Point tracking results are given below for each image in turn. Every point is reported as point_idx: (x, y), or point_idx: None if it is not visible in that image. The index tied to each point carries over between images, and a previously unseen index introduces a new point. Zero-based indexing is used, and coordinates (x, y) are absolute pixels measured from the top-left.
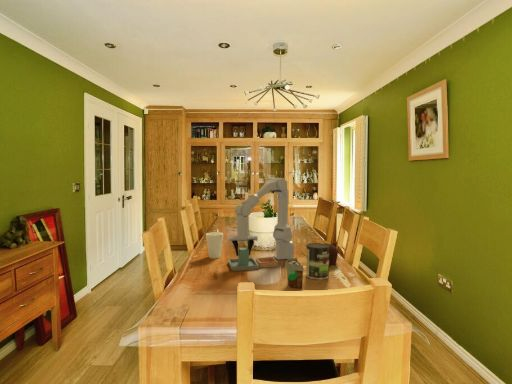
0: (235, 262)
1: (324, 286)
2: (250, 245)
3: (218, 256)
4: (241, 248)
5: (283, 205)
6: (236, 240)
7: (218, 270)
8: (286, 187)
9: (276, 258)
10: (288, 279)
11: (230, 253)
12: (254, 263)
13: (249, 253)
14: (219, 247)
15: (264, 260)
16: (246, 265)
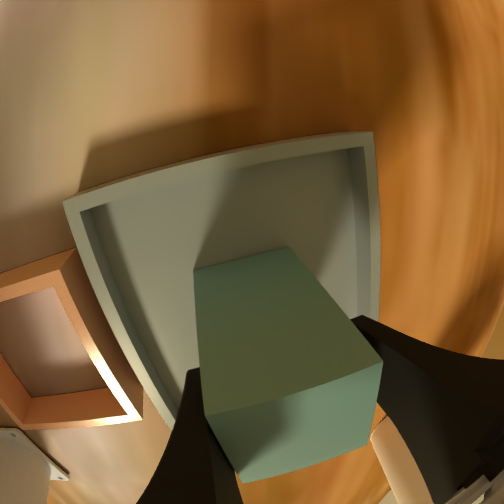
0: None
1: None
2: (188, 499)
3: (389, 422)
4: (337, 438)
5: None
6: (498, 475)
7: (436, 167)
8: None
9: (32, 443)
10: None
11: (313, 480)
12: (137, 336)
13: (193, 384)
14: (411, 460)
15: (72, 404)
16: (215, 266)
